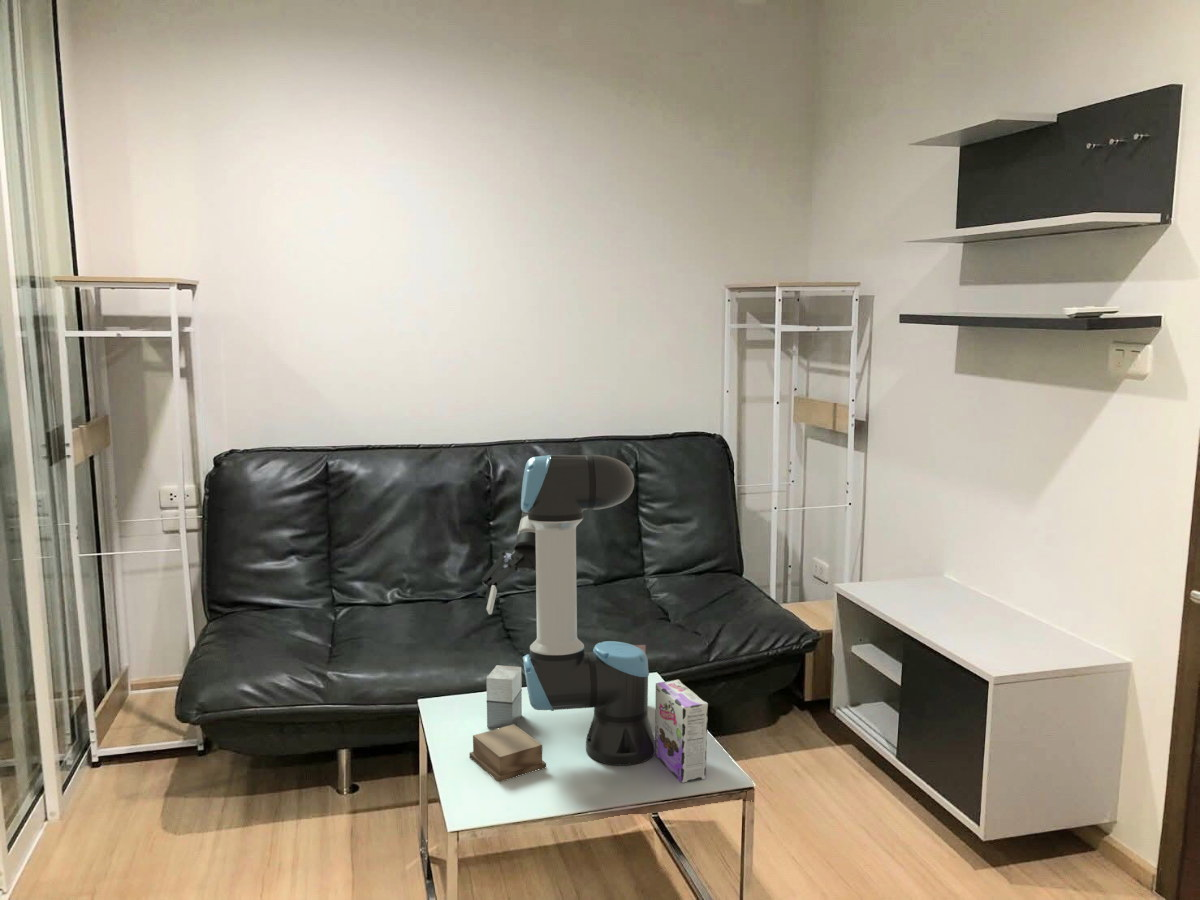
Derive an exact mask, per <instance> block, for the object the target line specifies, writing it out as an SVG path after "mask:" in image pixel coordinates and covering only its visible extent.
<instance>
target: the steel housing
mask: <svg viewBox="0 0 1200 900" xmlns="http://www.w3.org/2000/svg"><path fill="white" fill-rule="evenodd" d="M522 686H523V685H522V666H513V665H512V666H511V665H510V666H509V665H501V664H499V665H495V667H494V668H493V669H492V670H491V672H490V673H489V674H488V675H487V676H486V726H487V727H488V728H487V727H486V728H487V729H495V728H502V727H506V726H510V725H513V724H514V725H516V726H517V723H519V721H520V719H521V718H520V717H522V716H523V713H522V712H523V711H522V710H523V709H522V708H523V706H522V705H523V703H522V699H523V698H522V690H523V689H522ZM518 720H519V721H518Z"/></svg>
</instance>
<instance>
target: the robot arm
mask: <svg viewBox="0 0 1200 900" xmlns="http://www.w3.org/2000/svg"><path fill="white" fill-rule="evenodd" d="M524 467H525V468H524V470H523V471H524V472H523V478H522V487H521V496H520V497H521V499H520V509H521V511H522V513H521V518H520V520H519V521H520V522H519V527H518V530H517V536H516V539H515V543H514V549H513V552H512V553H508V552H506V550H501V551H500V553H499V555H498V556H499V557H498V558H497V560H496V561H495V562H494V563H493V564H492V566H491V567H490V568H489V570H488V571H486V573H485V574H484V576H483V577H482V578H481V582H482V584H483V587H485V588H486V592H485V599H486V601H487V605H486V612H487V613H488V615H493V611H494V606H495V602H496V601H495V600H496V597H497V592H498V589H497V587H498V586H499V585H501V584H502V583H503V582H505V581H506V580H507V579H508V578H509V577H510V576H512V575H513V574H516V573H517V572H518V571H519V572H520V573H525V572H528V573H532V572H534V571H535V587H536V588H535V596H536V598H535V599H536V604H535V608H536V639H535V640H534V641H533V642H532V643H531V644H530V645H529V653H527V654H526V655H524V656H523V657H522V660H523V670H524V676H525V683H526V689H527V695H528V698H529V699H528V700H529V704H530V706H531V708H533V709H534V710H537V711H551V712H553V711H558V710H562V711H563V710H575V709H576V710H577V709H589V708H590V709H591V708H593V717H592V720H591V723H590V727H589V730H588V732H587V734H586V735H587V736H586V738H585V739H586V740H585V751H586V754H587V756H589V757H590V758H591V759H593V760H595V761H597V762H599V763H602V764H606V765H614V766H632V765H637V764H641V763H643V762H646V761H648V760H649V759H651V758H652V757H653V756H654V755H655V735H654V734H653V733H654V732H653V729H652V725H651V723H650V719H649V717H648V716H649V715H648V708H649V707H648V705H649V703H648V702H649V700H648V699H649V695H648V694H649V676H650V671H649V661H648V660H649V659H648V656H647V654H645V652H644V651H643V650H641V649H640V648H638V647H636V646H634V645H635V644H630V643H628V642H622V641H613V640H612V641H611V640H608V641H607V640H606V641H602V642H598V643H596V644H595V645H594V647H593V651H587V652H586V651H585V645H584V642H582V641H581V640H580V639H579V638H578V619H577V618H578V610H577V607H578V605H577V604H578V603H577V601H578V600H577V599H578V598H577V595H578V594H577V526H578V525H579V524H580V523H581V522H582V521H583V520H584V511H592V510H604V509H608V508H612V507H614V506H617V505H619V504H621V503H623V502H625V501H626V500H627V499H629V498H630V496H631V494H633V490H634V488H635V477H634V474H633V471H632V470H631V468H630V467H629V466H628V465H627V463H625V462H623V461H622V460H619V459H618V458H614V457H611V456H608V455H601V454H590V455H589V454H587V455H586V454H585V455H584V454H582V455H581V454H580V455H579V454H576V455H575V454H574V455H573V454H572V455H567V454H566V455H562V454H561V455H551V454H549V455H548V454H547V455H541V456H540V455H539V456H533V457H531V458H529V459H528V460H527V462H526V464H525V466H524ZM509 560H511V561H510V562H509ZM508 562H509V563H508ZM506 563H508V564H507V566H506V567H504V566H505V565H506ZM503 567H504V569H503Z"/></svg>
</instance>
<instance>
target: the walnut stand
mask: <svg viewBox="0 0 1200 900" xmlns="http://www.w3.org/2000/svg"><path fill="white" fill-rule="evenodd" d="M472 744H473V745H472V750H473V751H471V752H469V758H470V759H471V760H472V761H473V760H474V761H473V762H474V763H476V764H477V765H478V766H479V767H481V768H482V769H483V770H484V771H485V772H486V771H487V772H486V773H488V775H490V774H491V775H492V776H493V777H494V778H493V777H492V776H491V775H490V776H491V777H492V778H493V779H494V780H496V781H497V782H498V783H501V782H503V781H507V779H508V780H510V778H511V779H514V778H517V777H519V776H518V775H521V776H523V775H522V774H524V775H526V774H525V773H527V774H530V773H533V772H532V771H534V772H536V771H535V770H537V771H539V770H538V769H540V770H542V768H544V769H546V768H547V762H546V761H544V760H543V744H542V743H541V742H539V741H538V740H536V739H535V738H534V737H532V736H531V735H530V734H528V733H527V732H526V731H524V730H523V729H521V728H520V727H519V726H517V724H516V725H514V724H513V725H510V726H506V727H502V728H499V729H495V728H494V729H491V730H488V731H484V732H481V733H477V734H474V735H472ZM545 767H546V768H545ZM529 772H530V773H529ZM516 776H517V777H516ZM513 777H514V778H513Z"/></svg>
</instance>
